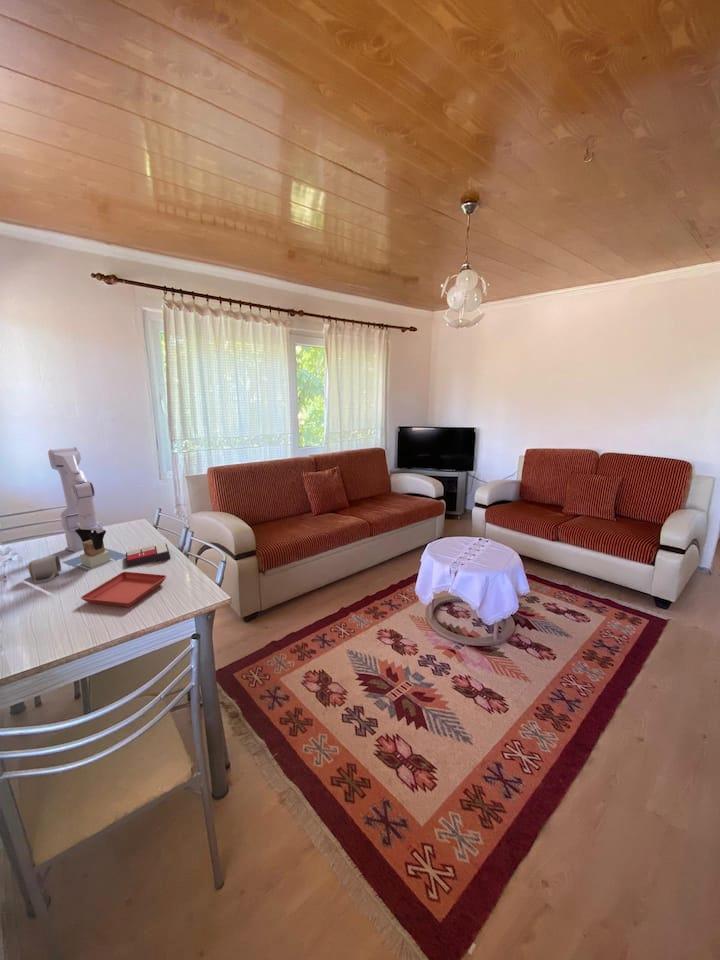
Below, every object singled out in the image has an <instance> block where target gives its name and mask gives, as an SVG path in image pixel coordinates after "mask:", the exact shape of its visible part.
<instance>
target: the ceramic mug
mask: <svg viewBox="0 0 720 960" xmlns="http://www.w3.org/2000/svg"><path fill="white" fill-rule="evenodd" d="M28 571H29V575H30V577H31V579H32V580H34V583H35V584H45V583H48V582H50V581H53V580H54V578H55V577H56V576H60V575H61V574H60V572H62V564H61V560H60V557H59V555H58V554H53V555H49V556H45V557H42V558H37V559H33V560H31V561H30V562H29V564H28ZM45 578H47V579H45ZM41 579H44V580H41ZM40 580H41V581H40Z"/></svg>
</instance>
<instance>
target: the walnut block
mask: <svg viewBox="0 0 720 960" xmlns="http://www.w3.org/2000/svg"><path fill="white" fill-rule="evenodd" d="M82 544H83V549H84V550H83V554H85V555H88V556H91V557H92V556H95V555H98V554H101V553H104V552H105V549H104V548H105V544H104V542H103V543H102V548H101V549H98V550H95V548H94V545H93V542H92V540H88V541H85V542H82Z"/></svg>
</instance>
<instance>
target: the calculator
mask: <svg viewBox="0 0 720 960" xmlns="http://www.w3.org/2000/svg"><path fill="white" fill-rule="evenodd" d="M125 555H126V557H125V564H126V567H127V568H128V567H134V566H139V565H144V564H148V563H152V564H153V563H158V562H159V561H161V562H165V561H169V560H171V556H170V555H171V554H170V551H169V548H168V544H167V543H165V542H164V543H160V544H155V545H154V544H153V545H150V546H145V547H142V548H137V549H132V550H128V551H126V553H125ZM159 563H160V562H159Z"/></svg>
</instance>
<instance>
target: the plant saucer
mask: <svg viewBox="0 0 720 960" xmlns="http://www.w3.org/2000/svg"><path fill="white" fill-rule="evenodd" d="M166 578H167V575H164V574H155V573H154V574H153V573H145V572H144V573H143V572H132V571H122V572H120V573H119V574H117V575H115V576H113V577H112V578H111V579H108V580H106V581H105V582H104V583H102V584H101V585H99V586H97V587H96V588H93V589H92V590H90V591H89V592H86V593H84V594H83V595H82V596H81V597H80V599H81V600H82V601H85V602H87V603H90V604H92V603H93V604H94V605H101V606H112V607H121V608H131V607H132V606H133V605H135V604H137V602H139V601H140V600H142V599H143V598H145V597H146V596H148V595H149V594H150V593H152V592H153V591H155V590H156V589H158V587H160V586H161V585H162V584H163V583H164V581H165V579H166ZM151 591H152V592H151ZM130 606H131V607H130Z"/></svg>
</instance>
